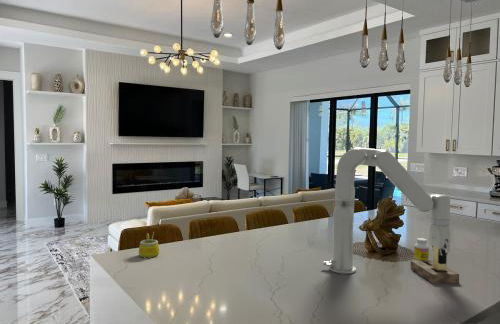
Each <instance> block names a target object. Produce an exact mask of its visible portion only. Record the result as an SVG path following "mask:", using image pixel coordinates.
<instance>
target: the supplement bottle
mask: <svg viewBox="0 0 500 324" xmlns="http://www.w3.org/2000/svg"><path fill="white" fill-rule="evenodd" d="M427 242H428V239H427V238H422V237H418V238H416V243H415V244H414V250H413V251H414V256H413V261H422V260H429V255H430V254H429V252H430V251H429V250H430V248H429V247H430V245H429V244H427Z"/></svg>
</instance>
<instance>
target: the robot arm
mask: <svg viewBox="0 0 500 324" xmlns="http://www.w3.org/2000/svg"><path fill="white" fill-rule="evenodd" d="M359 166H369V167H370V166H371V167H377V168H378V169H379V170H380V171H381V172H382V174H384V176H385V177H386V178H387V179H388V180H389V182H391V183H392V184H393V185H394V187H395V188H396V189H398V190H399V191H400V192H401V193H402V194H403V195H404V196H405V197H406V198H407V199H408V201H409V202H411V204H412V205H413V206H414V207H415V208H416V209H417V210H418V211H419V212H422V213H428V212H430V213H431V215H430V216H431V219H430V227H429V235H428V243H429V244H430V245H431V247H432V248H433V246H434V247H436V248H438V249H440V255H439V264H446V261H447V258H448V257H447V256H448V254H449V253H450V252H451V249H450V248H451V230H450V229H451V228H450V226H451V225H450V224H451V197H450V196H449V195H448V194H442V193H441V194H440V193H438V194H432V193H431V194H430V193H428V192H426V191H425V190H424V189H423V188H422V187H421V185H420V184H419V183H418V182H417V181H416V180H415V179H414V176H412V175H411V174H410V173H409V171H408V170H407V169H406V168H405V167H404V165H402V163H400V161H399V160H398V159H397V158H396V157H395V156H394V155H393V154H392V153H391V152H390V151H389V150H386V149H375V148H366V147H357V146H356V147H354V148H352V149H349V150H348V151H346V152H344V153H343V154H342V156H341V157H339V160H338V162H337V165H336V177H335V188H334V196H335V199H334V210H333V212H332V258H331V259H330V260H328V261H322V266H326V267H329V268H328V269H329V271H331V272H334V273H337V274H343V275H347V274H354V273H355V272H357V267H355V266H354V265H353V264H354V261H353V260H354V258H353V257H354V215H355V199H356V197H355V195H356V187H355V177H356V169H357V167H359ZM443 247H445V248H443ZM442 250H443V252H442Z"/></svg>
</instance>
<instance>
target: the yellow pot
mask: <svg viewBox="0 0 500 324" xmlns="http://www.w3.org/2000/svg"><path fill="white" fill-rule="evenodd" d="M154 234H155V231H152V237H151V239H150V234H149V233H148V232H147V233H146V239H143V240H141V241H140V242H139V247H138V254H139V255H138V256H139V257H141V258H146V259H147V258H155V257H157V256H158V255H159V253H160V246H159V241H158V240H157V239H153V238H154Z"/></svg>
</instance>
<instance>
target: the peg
mask: <svg viewBox="0 0 500 324" xmlns="http://www.w3.org/2000/svg"><path fill="white" fill-rule="evenodd" d="M443 248H445V247H443ZM442 252H443V250H442ZM439 255H440V249H438V248H436V247H434V246H433V247H432V260H433V268H435V269H436V270H446V267H447V261H446V264H439Z"/></svg>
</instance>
